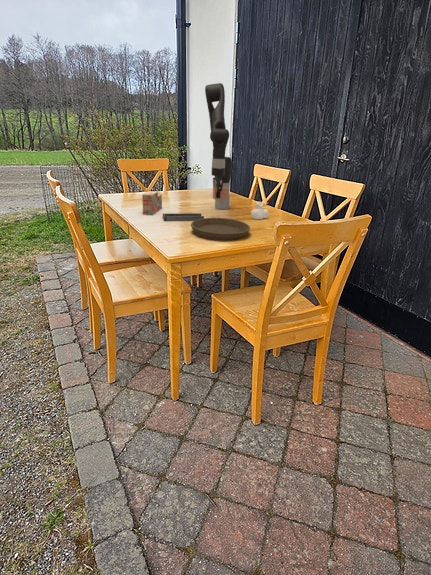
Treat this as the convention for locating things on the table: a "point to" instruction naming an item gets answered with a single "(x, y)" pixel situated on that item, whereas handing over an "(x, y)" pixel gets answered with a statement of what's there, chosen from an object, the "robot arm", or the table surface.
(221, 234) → the plant saucer
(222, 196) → the block
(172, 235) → the table surface
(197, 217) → the rectangular frame
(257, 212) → the bust
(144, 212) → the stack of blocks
